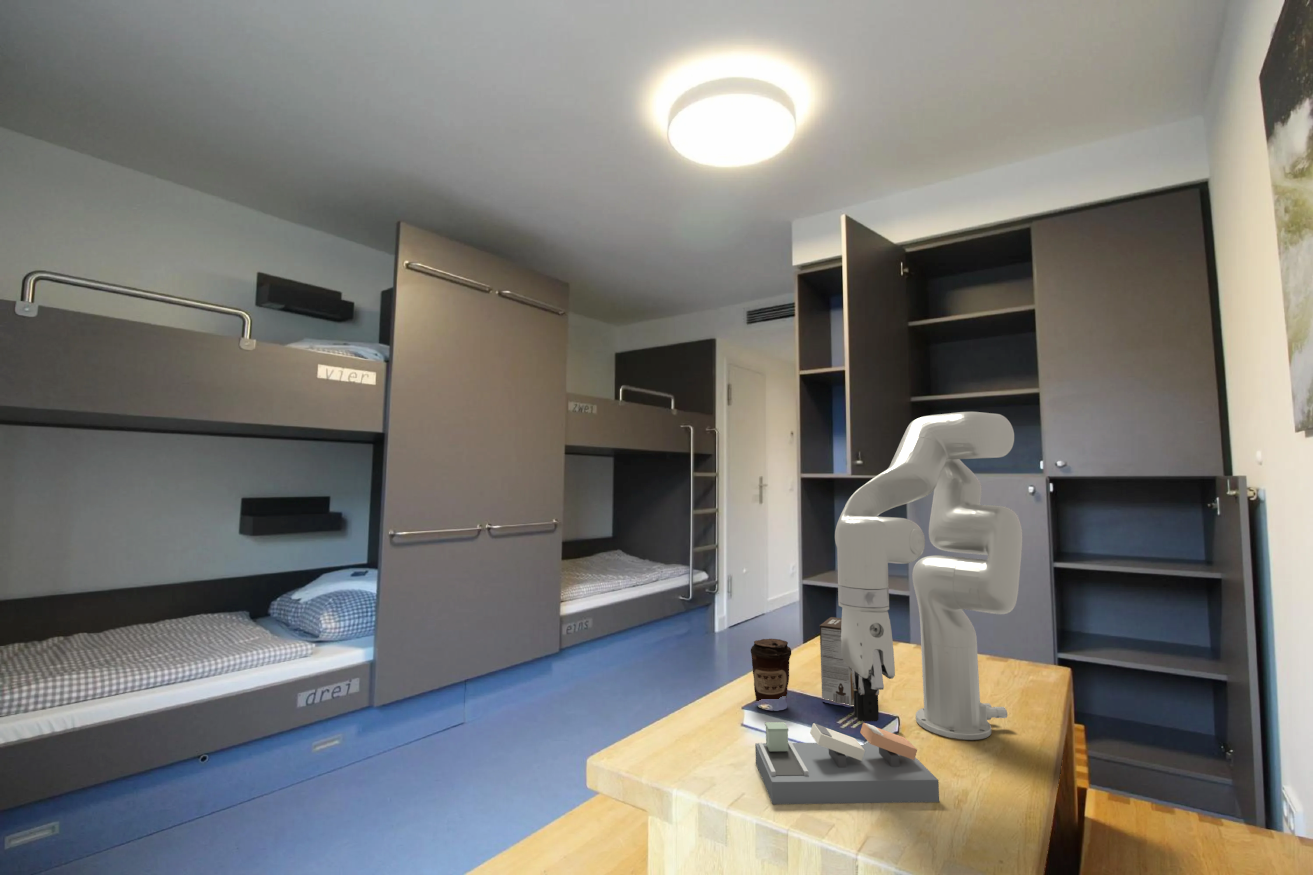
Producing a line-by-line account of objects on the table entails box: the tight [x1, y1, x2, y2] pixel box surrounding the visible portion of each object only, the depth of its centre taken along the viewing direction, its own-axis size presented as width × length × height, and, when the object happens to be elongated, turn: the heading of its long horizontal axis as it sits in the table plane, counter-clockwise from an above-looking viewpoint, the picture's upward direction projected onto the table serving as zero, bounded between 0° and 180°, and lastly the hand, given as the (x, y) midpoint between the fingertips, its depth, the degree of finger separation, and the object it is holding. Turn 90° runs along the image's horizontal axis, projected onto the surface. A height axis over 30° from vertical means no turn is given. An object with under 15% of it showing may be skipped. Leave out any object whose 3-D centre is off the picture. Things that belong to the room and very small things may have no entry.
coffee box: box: [819, 616, 854, 705], centre depth 118 cm, size 9×6×16 cm
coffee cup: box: [750, 638, 792, 702], centre depth 114 cm, size 9×8×13 cm
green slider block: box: [764, 721, 789, 751], centre depth 88 cm, size 3×2×3 cm
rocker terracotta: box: [860, 722, 918, 760], centre depth 85 cm, size 7×4×2 cm, turn 91°
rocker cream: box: [809, 723, 865, 761], centre depth 85 cm, size 7×4×2 cm, turn 91°
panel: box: [754, 741, 940, 805], centre depth 85 cm, size 24×12×5 cm, turn 91°
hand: (866, 718), depth 85 cm, fingers closed
